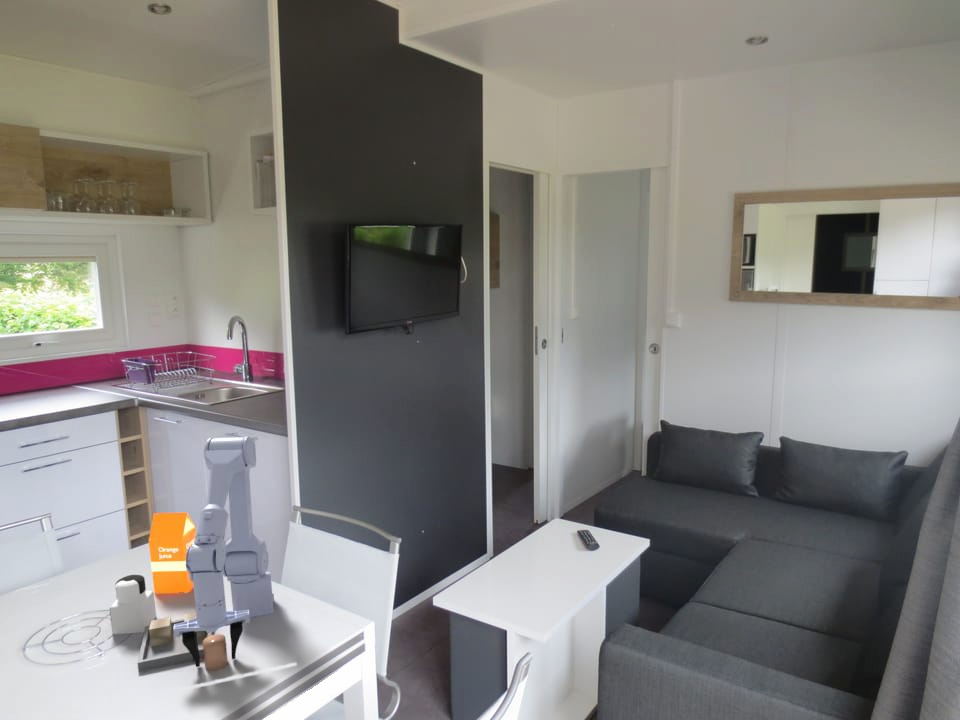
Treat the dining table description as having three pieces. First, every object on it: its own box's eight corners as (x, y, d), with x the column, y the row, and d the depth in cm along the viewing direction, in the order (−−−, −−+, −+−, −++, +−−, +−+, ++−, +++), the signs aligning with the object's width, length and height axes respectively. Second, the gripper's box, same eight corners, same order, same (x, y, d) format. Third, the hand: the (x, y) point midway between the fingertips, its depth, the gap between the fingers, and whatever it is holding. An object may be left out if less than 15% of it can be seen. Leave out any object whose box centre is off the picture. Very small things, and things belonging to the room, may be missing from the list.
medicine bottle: (125, 620, 161) (120, 572, 159) (157, 618, 161) (151, 570, 159) (112, 636, 154) (106, 587, 152) (145, 634, 154) (139, 585, 152)
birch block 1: (172, 633, 153) (170, 616, 152) (171, 642, 149) (169, 625, 149) (153, 637, 152) (151, 620, 151) (151, 646, 148) (149, 629, 147)
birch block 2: (205, 626, 155) (204, 610, 155) (205, 635, 152) (203, 619, 151) (186, 630, 154) (185, 614, 153) (185, 639, 150) (184, 622, 150)
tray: (213, 623, 158) (212, 613, 158) (211, 658, 144) (210, 647, 144) (146, 636, 153) (145, 626, 153) (138, 674, 139) (137, 662, 139)
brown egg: (227, 658, 144) (225, 632, 143) (227, 670, 140) (225, 643, 139) (205, 663, 142) (202, 636, 141) (204, 675, 138) (202, 648, 137)
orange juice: (188, 593, 173) (180, 518, 170) (153, 593, 173) (145, 519, 170) (201, 578, 180) (194, 506, 177) (168, 579, 181) (160, 507, 178)
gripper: (169, 616, 133) (176, 679, 135) (247, 601, 137) (253, 662, 140) (172, 599, 139) (179, 660, 141) (247, 585, 144) (252, 644, 146)
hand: (216, 660), depth 141 cm, fingers open, 6 cm apart
